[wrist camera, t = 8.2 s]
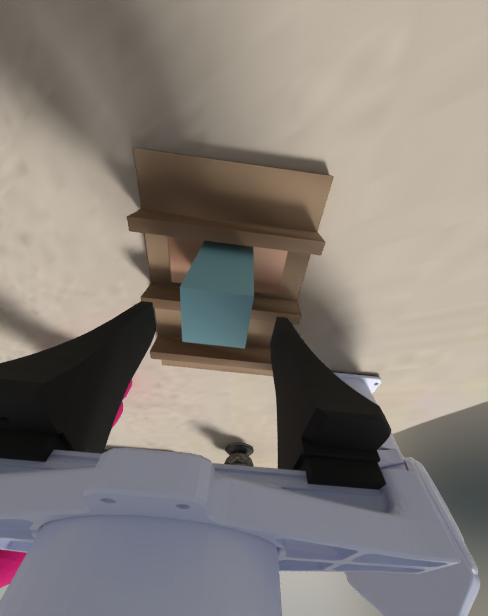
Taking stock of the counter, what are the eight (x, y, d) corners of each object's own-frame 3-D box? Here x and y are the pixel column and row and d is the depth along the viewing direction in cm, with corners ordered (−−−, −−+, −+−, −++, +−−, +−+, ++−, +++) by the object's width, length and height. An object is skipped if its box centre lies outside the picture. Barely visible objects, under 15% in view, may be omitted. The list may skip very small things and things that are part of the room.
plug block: (247, 287, 21) (244, 348, 14) (204, 281, 21) (182, 341, 14) (253, 245, 19) (253, 295, 12) (205, 239, 19) (179, 286, 12)
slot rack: (273, 369, 29) (275, 393, 26) (164, 358, 29) (155, 381, 26) (329, 175, 17) (345, 180, 14) (139, 148, 16) (115, 147, 13)
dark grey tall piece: (253, 457, 44) (254, 545, 34) (223, 455, 44) (215, 543, 34) (256, 443, 41) (257, 536, 31) (223, 441, 41) (214, 534, 31)
